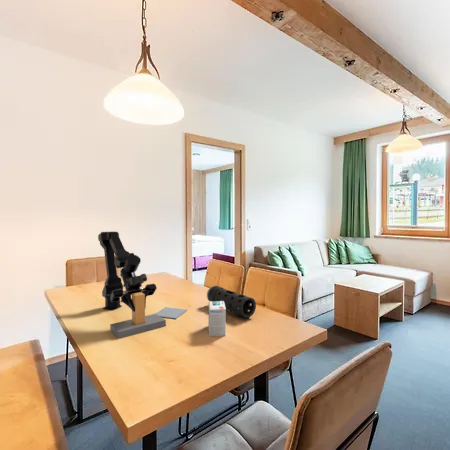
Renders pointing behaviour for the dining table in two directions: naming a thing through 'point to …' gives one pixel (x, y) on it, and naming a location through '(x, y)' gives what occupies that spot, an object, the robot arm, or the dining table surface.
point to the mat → (171, 312)
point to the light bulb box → (217, 318)
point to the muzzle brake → (233, 301)
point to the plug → (138, 308)
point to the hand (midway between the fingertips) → (139, 310)
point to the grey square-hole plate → (137, 326)
